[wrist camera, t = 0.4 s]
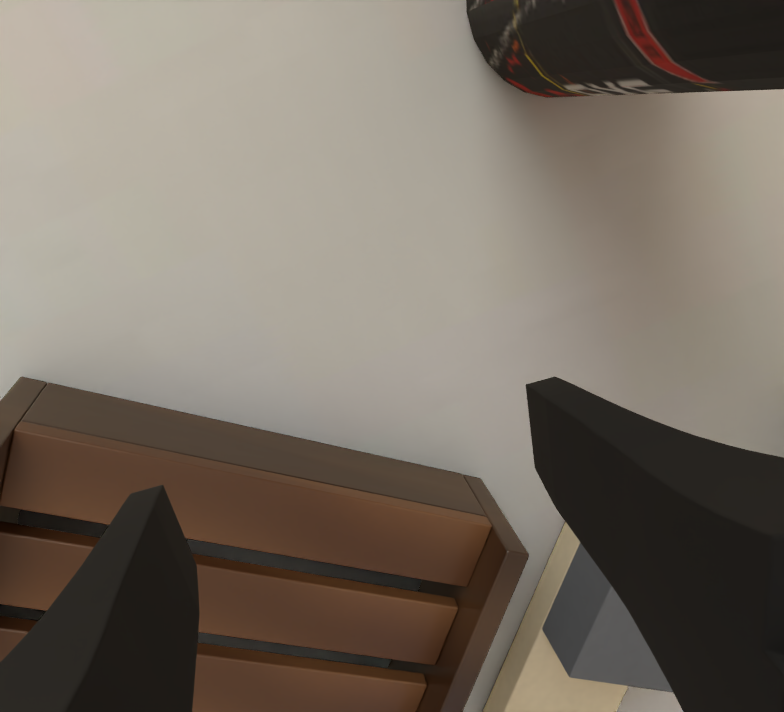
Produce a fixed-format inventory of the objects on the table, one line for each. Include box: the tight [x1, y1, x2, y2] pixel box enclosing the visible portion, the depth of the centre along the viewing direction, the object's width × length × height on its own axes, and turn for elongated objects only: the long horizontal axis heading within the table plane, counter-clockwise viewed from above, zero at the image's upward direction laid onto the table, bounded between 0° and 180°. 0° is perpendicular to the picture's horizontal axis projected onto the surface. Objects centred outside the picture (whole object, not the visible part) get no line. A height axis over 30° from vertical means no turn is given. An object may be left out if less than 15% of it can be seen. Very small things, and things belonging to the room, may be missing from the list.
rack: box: [0, 377, 529, 712], centre depth 24 cm, size 12×16×5 cm
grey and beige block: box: [483, 522, 673, 712], centre depth 28 cm, size 11×5×4 cm, turn 161°
